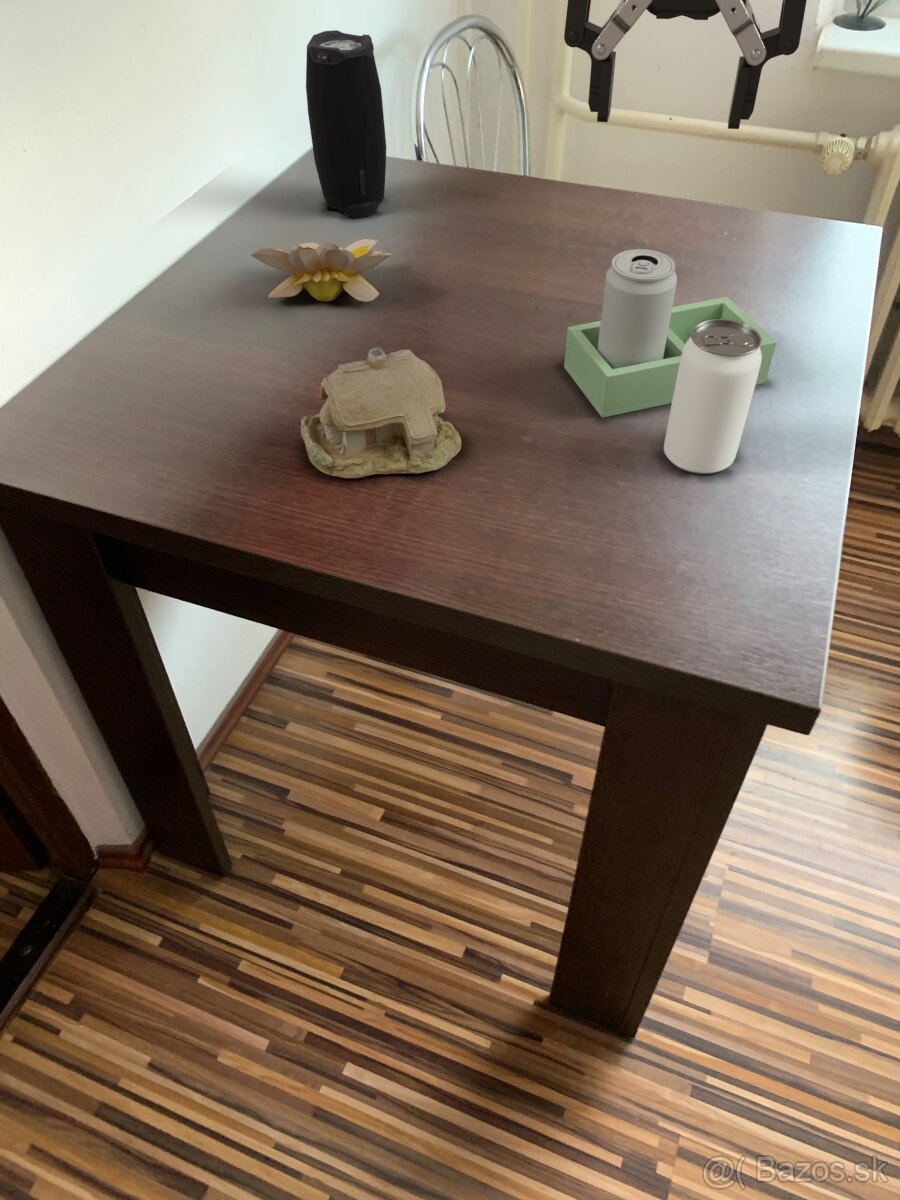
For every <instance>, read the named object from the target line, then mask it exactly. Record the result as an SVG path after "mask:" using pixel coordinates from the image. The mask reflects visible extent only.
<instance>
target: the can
mask: <svg viewBox="0 0 900 1200" xmlns="http://www.w3.org/2000/svg"><path fill="white" fill-rule="evenodd" d="M760 345H761V336H760V335H759V333H758V332H757V331H756V330H755V329H754V328H752V327H751V326H749V325H747V324H744V323H742V322H738V321H734V320H728V319H713V320H707V321H704V322H701V323H699V324H697V325H696V326H695V327H694V328H693V329H692V331H691V337H690V338H689V339H688V340H687V342H686V343H685V345H684V347H683V351H682V355H681V360H680V365H679V370H678V375H677V380H676V385H675V390H674V395H673V400H672V403H671V406H670V410H669V415H668V421H667V426H666V432H665V436H664V442H663V452H664V454H665V456H666V457H667V459H668V460H669V461H670V463H671V464H672V465H673V466H674V467H676V468H678V469H680V470H683V471H684V472H687V473H691V474H696V475H712V474H713V475H714V474H717V473H719V472H721V471H724V470H725V469H727V468H729V467H730V466H731V465H732V464H733V463H734V461H735V460H736V457H737V454H738V450H739V447H740V443H741V439H742V435H743V432H744V429H745V425H746V422H747V418H748V415H749V414H748V413H749V410H750V407H751V403H752V399H753V395H754V392H755V388H756V386H757V385H756V381H757V377H758V373H759V369H760V365H761V360H762V354H761V350H760Z"/></svg>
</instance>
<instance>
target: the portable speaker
mask: <svg viewBox="0 0 900 1200" xmlns="http://www.w3.org/2000/svg"><path fill="white" fill-rule="evenodd" d="M374 50H375V45H374V43H373V40H372V37H371V35H370V34H362V35H360V34H359V35H357V34H351V33H346V32H342V31H341V30H337V29H335V30H325V31H321V32H318V33H316V34H313V35H312V37H311V38H310V40H309V41H308V43H307V45H306V66H305V67H306V68H305V93H306V104H307V115H308V122H309V129H310V137H311V143H312V144H311V146H312V151H313V152H312V153H313V158H314V159H313V160H314V164H315V168H316V172H317V176H318V180H319V181H318V182H319V185H320V189H321V192H322V196H323V199H324V201H325V205H326V206H325V207H326V211H332V210H333V209H335V210H338V211H340V212H343V213H344V214H345V216H346V217H347V218H351V219H359V218H364V217H368V216H371V215H374V214H376V213H377V210H378V208H379V206H380V204H381V203H382V202H383V200H384V199H385V188H386V187H385V186H386V169H387V138H386V128H385V127H386V126H385V116H384V105H383V93H382V87H381V82H380V77H379V72H378V68H377V64H376V63H377V62H376V59H375V54H374V53H375V52H374Z"/></svg>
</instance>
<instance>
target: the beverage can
mask: <svg viewBox="0 0 900 1200" xmlns="http://www.w3.org/2000/svg"><path fill="white" fill-rule="evenodd" d="M675 270H676V262H675V261H674V259H673V258H672V257H670V256H669V255H667V254H665V253H663V252H660V251H657V250H652V249H647V248H646V249H644V248H638V249H637V248H636V249H628V250H624V251H622V252H619V253H618V254H616V255H614V257H613V258H612V260H611V265H610V267H609V268H608V269H607V271H606V272H605V273H606V274H605V282H604V289H603V290H604V291H603V300H602V305H601V306H602V307H601V316H600V321H601V323H600V332H599V340H598V349H597V351H598V352H599V354H600V355H601V356H602V357H603V358H604V360H605V361H606V362H607V363H608V365H609V366H610V367H611V368H612V369H617V368H622V367H627V366H632V365H637V364H642V363H647V362H652V361H657V360H662V359H663V356H664V350H665V345H666V339H667V334H668V328H669V323H670V317H671V311H672V307H674V306H673V305H674V299H675V294H676V288H677V284H678V283H677V282H678V276H677V274H676V272H675Z"/></svg>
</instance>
